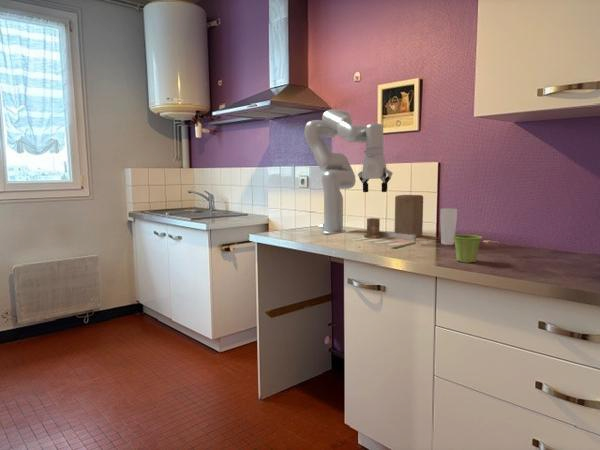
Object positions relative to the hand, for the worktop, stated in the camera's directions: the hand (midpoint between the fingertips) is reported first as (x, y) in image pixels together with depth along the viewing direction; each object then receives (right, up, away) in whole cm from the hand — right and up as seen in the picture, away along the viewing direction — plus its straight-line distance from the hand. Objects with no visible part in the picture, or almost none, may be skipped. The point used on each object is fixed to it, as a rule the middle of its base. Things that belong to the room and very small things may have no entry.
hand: (374, 192), depth 193 cm
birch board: (+2, -23, -5) cm, 23 cm away
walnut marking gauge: (0, -20, +2) cm, 20 cm away
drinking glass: (+29, -23, -8) cm, 38 cm away
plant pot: (+24, -27, -43) cm, 56 cm away
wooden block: (+17, -21, +8) cm, 28 cm away
